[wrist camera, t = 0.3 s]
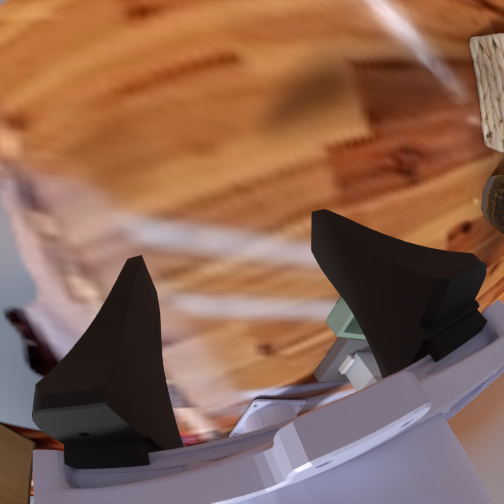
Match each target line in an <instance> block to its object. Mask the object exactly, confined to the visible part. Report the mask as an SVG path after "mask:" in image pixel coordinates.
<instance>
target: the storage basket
mask: <svg viewBox="0 0 504 504" xmlns="http://www.w3.org/2000/svg"><path fill="white" fill-rule="evenodd" d="M469 46H470V52H471V56H472V59H473V65H474V71H475V75H476V79H477V89H478V95H479V100H480V111H481V116H482V121H481V124H482V131H483V136H484V142H485V145H486V146H487V147H489V148H492V149H494V150H497V151H499V152H504V33H499V34H492V35H488V36H487V35H484V36H476V37H471V38H470V42H469ZM487 135H488V136H487Z"/></svg>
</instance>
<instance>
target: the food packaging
mask: <svg viewBox="0 0 504 504" xmlns="http://www.w3.org/2000/svg"><path fill="white" fill-rule="evenodd" d="M35 449H36V443H35V442H34V441H32V440H30V439H28V438H26V437H24V436H22V435H20V434H19V433H17V432H15V431H13V430H12V429H10V428H8V427H7V426H5V425H3V424H2V423H0V504H30V494H31V481H32V472H33V450H35Z"/></svg>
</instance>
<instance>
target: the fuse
mask: <svg viewBox="0 0 504 504" xmlns="http://www.w3.org/2000/svg"><path fill="white" fill-rule="evenodd" d="M353 357H354V358H355V361H354V362H353V363H352V365H351V366H350V367H349V369H348V370H347V371H346V373H345V375H346V376H347V378H348V379H349V381H350V382H351V384H352V385H353V387H354V388H355V390H356V391H359V390H361V389H363V388H365V387H368V386H370V385H372V384H374V383H376V382H378V381H380V380H382V379H383V378H382V375H381V373H380V370H379V368H378V365H377V362H376V360H375V358H374V355H373V353H372V351H363V350H356V351H355V352H354V353H353Z"/></svg>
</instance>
